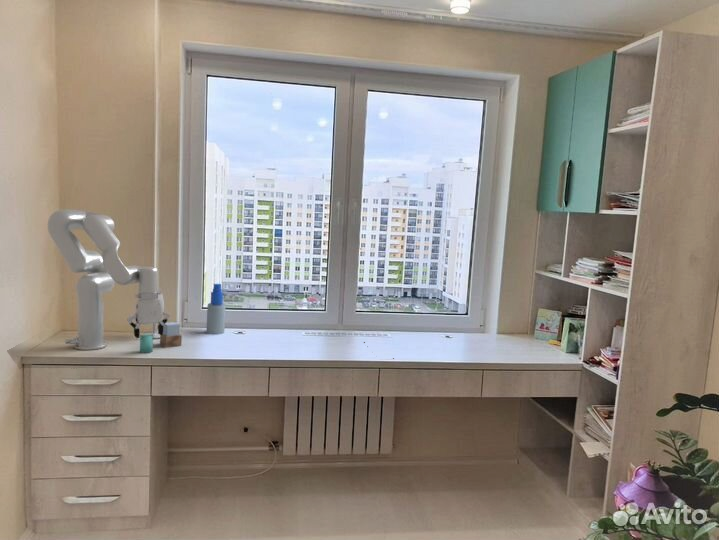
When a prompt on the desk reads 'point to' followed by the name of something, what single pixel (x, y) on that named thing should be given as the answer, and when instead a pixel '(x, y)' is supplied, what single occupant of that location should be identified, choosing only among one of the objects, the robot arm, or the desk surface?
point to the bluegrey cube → (171, 329)
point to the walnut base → (170, 340)
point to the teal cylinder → (146, 343)
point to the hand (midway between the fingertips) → (149, 335)
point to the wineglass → (155, 335)
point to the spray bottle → (216, 312)
